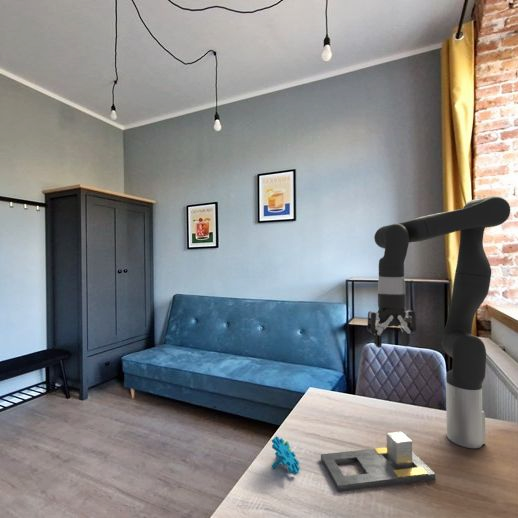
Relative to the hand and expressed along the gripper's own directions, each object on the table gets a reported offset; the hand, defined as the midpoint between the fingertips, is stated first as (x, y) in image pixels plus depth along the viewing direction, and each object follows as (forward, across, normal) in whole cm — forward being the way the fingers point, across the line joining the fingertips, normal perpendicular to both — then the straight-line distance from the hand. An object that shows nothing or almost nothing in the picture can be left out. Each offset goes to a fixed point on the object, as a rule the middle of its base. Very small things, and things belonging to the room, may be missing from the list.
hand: (391, 346), depth 91 cm
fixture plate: (+30, +10, +8) cm, 33 cm away
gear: (+30, +33, +3) cm, 45 cm away
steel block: (+30, +3, +8) cm, 31 cm away
